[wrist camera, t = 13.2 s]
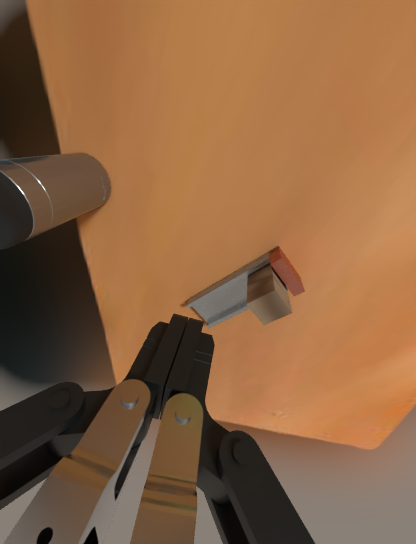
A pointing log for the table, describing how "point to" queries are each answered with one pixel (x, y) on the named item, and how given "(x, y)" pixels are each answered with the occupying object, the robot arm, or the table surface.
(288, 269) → the track
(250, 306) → the slider block
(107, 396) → the robot arm
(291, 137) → the table surface
